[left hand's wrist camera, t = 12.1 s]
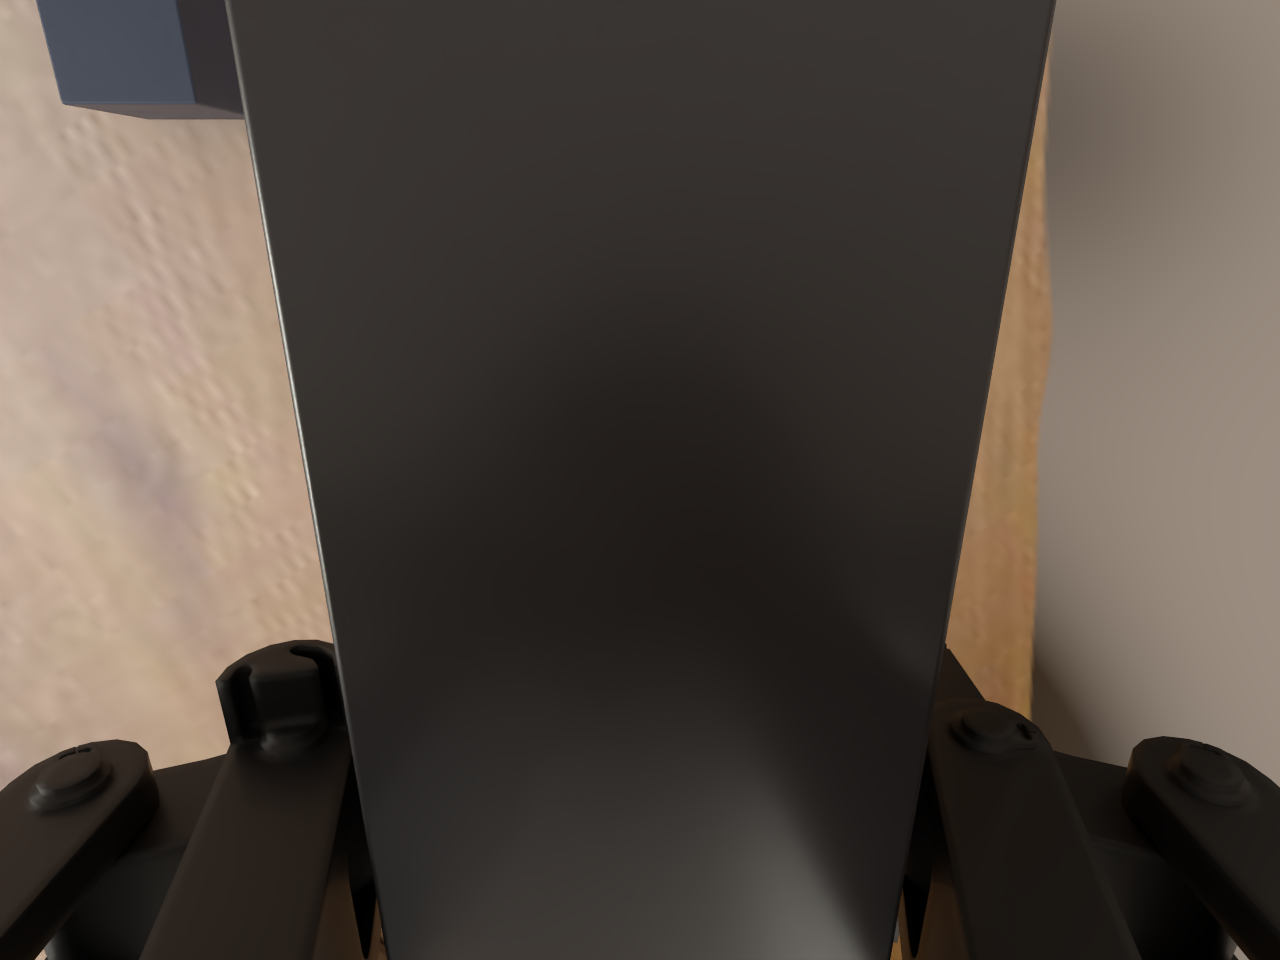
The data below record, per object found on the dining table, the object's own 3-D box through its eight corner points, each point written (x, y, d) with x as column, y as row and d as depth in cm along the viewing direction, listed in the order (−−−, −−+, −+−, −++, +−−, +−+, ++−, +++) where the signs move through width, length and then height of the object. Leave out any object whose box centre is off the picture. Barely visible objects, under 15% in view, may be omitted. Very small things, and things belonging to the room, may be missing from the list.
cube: (263, 119, 25) (197, 104, 21) (147, 119, 25) (60, 104, 21) (241, -18, 24) (166, -60, 20) (117, -18, 24) (19, -60, 20)
